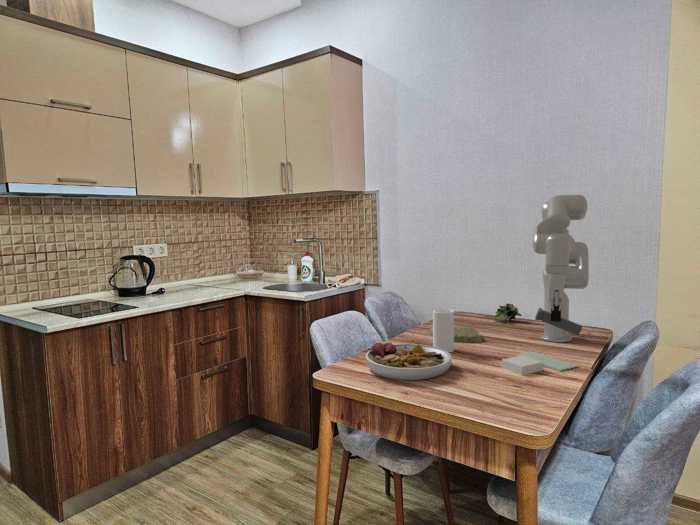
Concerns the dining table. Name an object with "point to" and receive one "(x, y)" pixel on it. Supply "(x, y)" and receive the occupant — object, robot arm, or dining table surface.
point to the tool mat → (549, 361)
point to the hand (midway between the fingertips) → (555, 320)
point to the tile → (522, 365)
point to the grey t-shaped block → (563, 324)
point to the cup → (443, 329)
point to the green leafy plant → (507, 312)
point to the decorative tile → (464, 334)
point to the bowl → (408, 361)
